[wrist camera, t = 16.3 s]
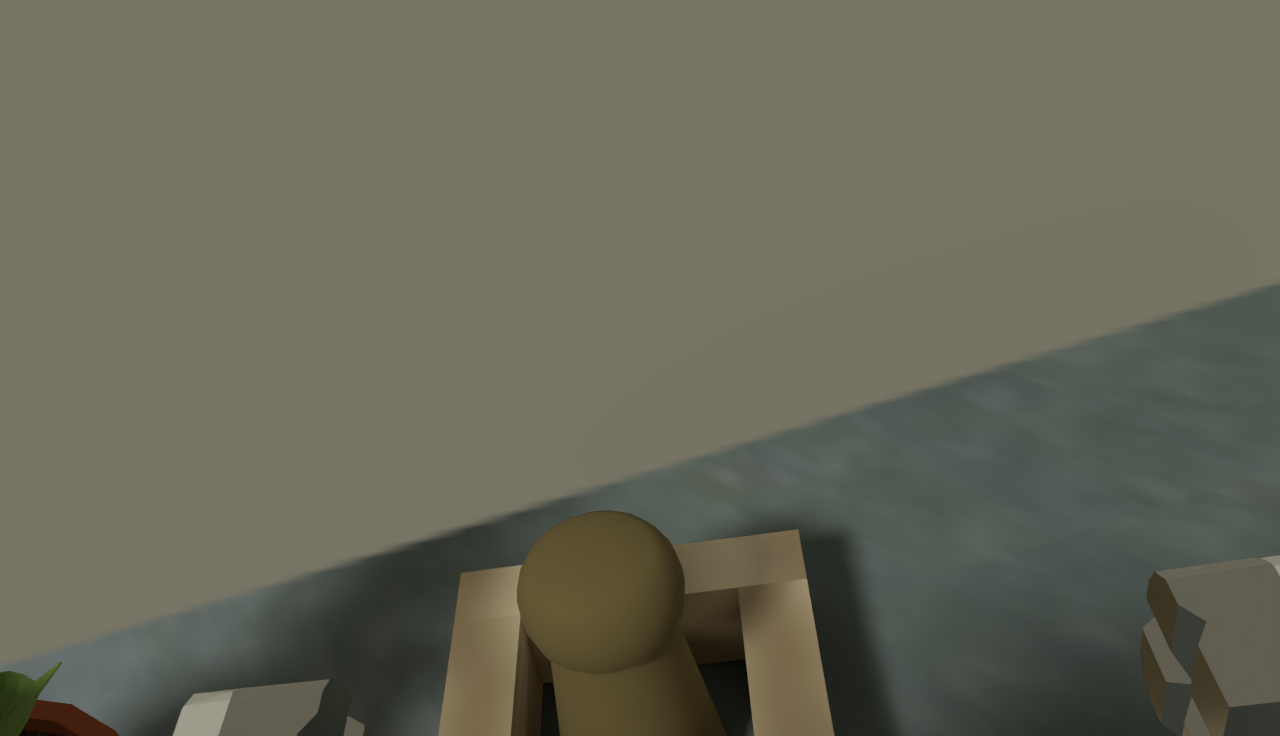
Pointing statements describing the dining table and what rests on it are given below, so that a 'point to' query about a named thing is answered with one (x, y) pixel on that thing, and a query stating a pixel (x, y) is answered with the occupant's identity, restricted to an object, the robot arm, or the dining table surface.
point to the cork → (614, 629)
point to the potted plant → (41, 710)
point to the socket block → (711, 622)
